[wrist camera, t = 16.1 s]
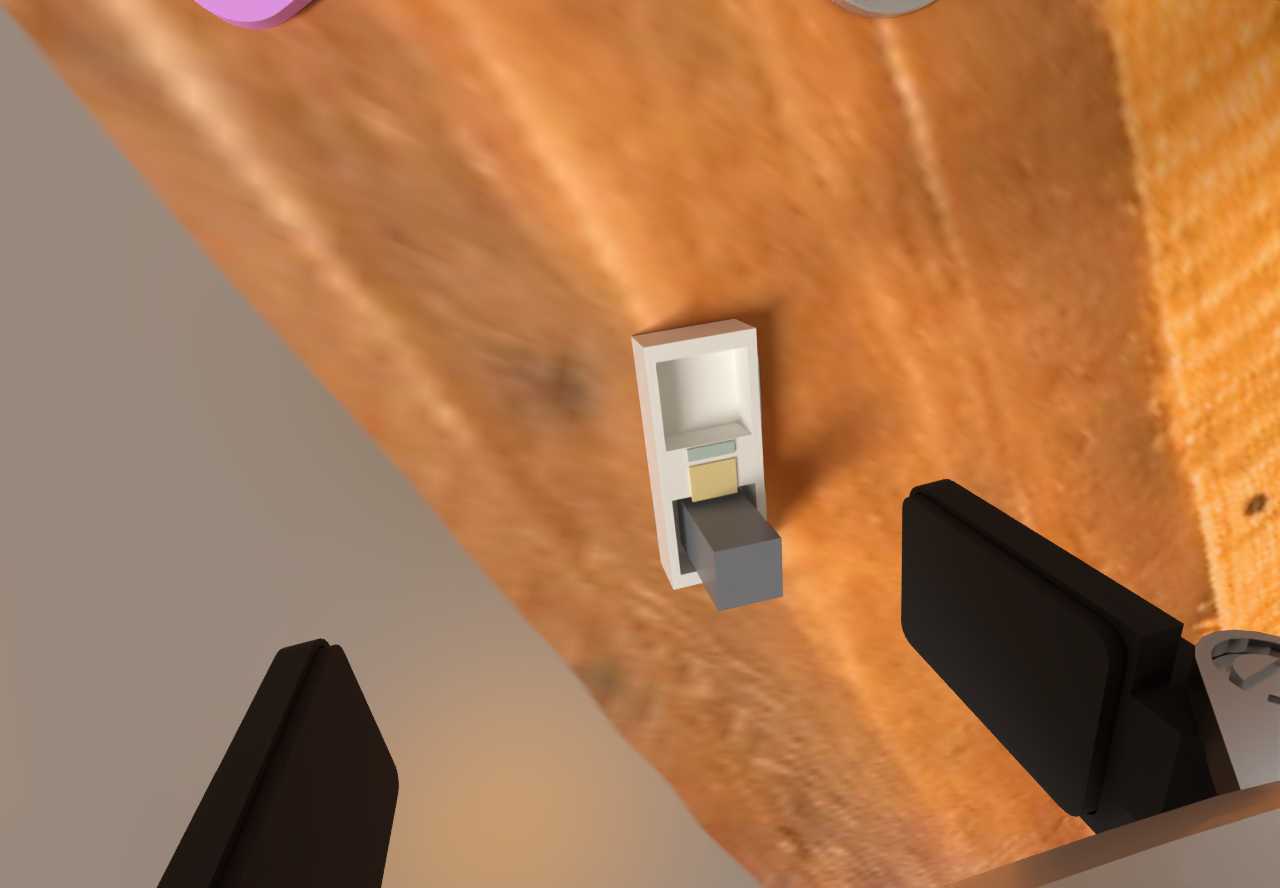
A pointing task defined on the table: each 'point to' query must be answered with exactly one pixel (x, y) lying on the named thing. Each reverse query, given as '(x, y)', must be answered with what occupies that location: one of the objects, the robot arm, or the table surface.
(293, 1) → the bracket
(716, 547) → the plug
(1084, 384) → the table surface
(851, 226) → the table surface
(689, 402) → the socket block
